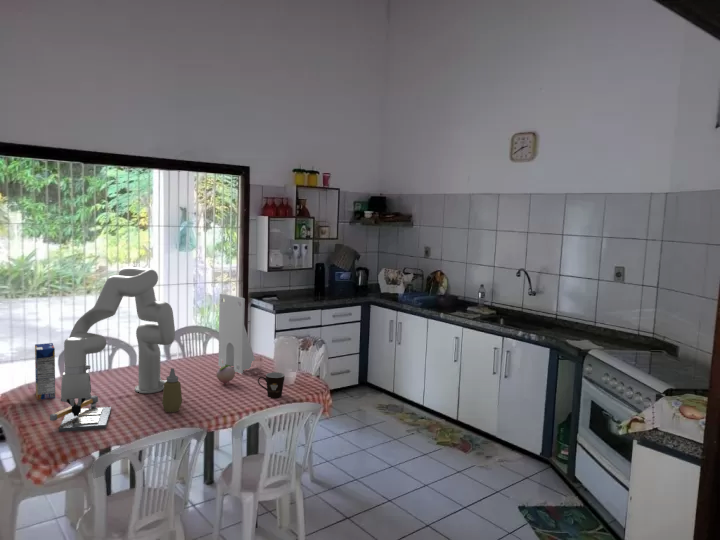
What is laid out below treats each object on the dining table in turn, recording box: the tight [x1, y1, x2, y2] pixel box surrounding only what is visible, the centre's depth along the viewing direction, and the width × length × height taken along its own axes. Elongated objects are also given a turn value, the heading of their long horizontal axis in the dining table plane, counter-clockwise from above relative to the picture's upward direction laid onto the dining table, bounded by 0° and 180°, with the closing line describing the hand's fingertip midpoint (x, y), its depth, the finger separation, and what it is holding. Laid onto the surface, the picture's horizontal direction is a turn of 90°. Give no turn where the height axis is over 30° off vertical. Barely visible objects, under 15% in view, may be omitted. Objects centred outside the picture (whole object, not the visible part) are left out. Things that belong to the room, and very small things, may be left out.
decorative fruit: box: [216, 364, 236, 385], centre depth 274 cm, size 9×8×10 cm
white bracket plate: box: [217, 292, 256, 374], centre depth 300 cm, size 20×14×40 cm
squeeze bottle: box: [161, 368, 183, 413], centre depth 236 cm, size 8×8×18 cm
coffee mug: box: [257, 371, 286, 399], centre depth 260 cm, size 12×9×10 cm
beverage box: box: [34, 342, 56, 401], centre depth 247 cm, size 7×11×22 cm, turn 33°
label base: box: [58, 402, 112, 433], centre depth 223 cm, size 16×23×3 cm
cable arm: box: [49, 395, 99, 422], centre depth 223 cm, size 4×24×2 cm, turn 166°
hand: (76, 414), depth 219 cm, fingers closed
